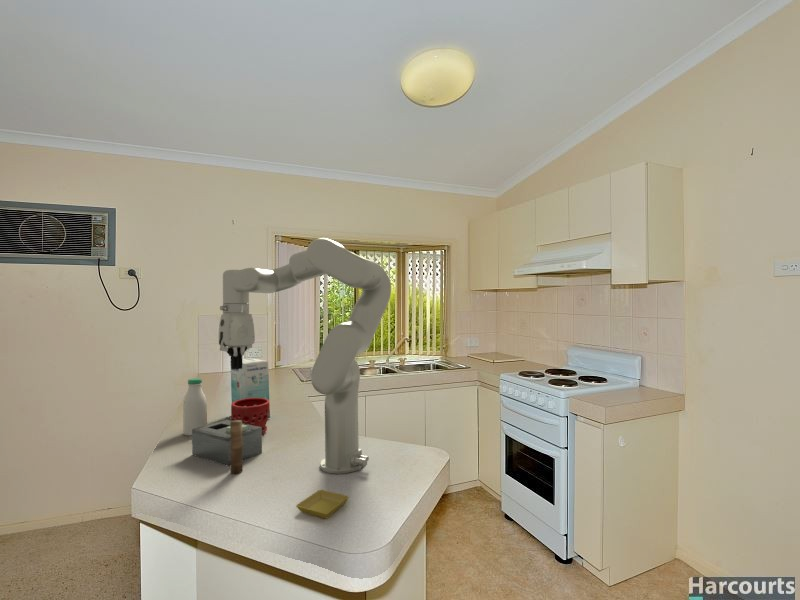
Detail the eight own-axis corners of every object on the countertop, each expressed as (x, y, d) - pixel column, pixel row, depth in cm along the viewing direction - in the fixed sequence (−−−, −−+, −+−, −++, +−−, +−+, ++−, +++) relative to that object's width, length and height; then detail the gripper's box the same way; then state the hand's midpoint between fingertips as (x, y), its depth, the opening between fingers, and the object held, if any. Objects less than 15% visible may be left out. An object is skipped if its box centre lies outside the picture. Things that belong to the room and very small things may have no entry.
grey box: (261, 452, 124) (261, 427, 124) (227, 466, 114) (227, 438, 114) (226, 443, 133) (226, 419, 133) (192, 454, 123) (192, 429, 123)
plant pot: (223, 439, 138) (223, 404, 138) (246, 428, 151) (246, 396, 151) (255, 441, 135) (255, 406, 135) (276, 429, 147) (276, 398, 148)
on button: (247, 441, 122) (247, 425, 122) (235, 446, 118) (235, 429, 118) (238, 439, 124) (238, 423, 124) (226, 443, 120) (226, 427, 120)
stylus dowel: (244, 471, 110) (244, 420, 110) (235, 475, 107) (234, 423, 108) (237, 468, 111) (237, 419, 112) (228, 472, 109) (228, 422, 109)
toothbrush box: (230, 415, 169) (229, 359, 170) (254, 411, 176) (253, 357, 177) (245, 424, 156) (244, 363, 156) (270, 418, 163) (269, 360, 163)
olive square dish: (326, 523, 82) (326, 513, 83) (295, 514, 86) (295, 505, 86) (349, 505, 90) (349, 496, 90) (320, 497, 94) (320, 489, 94)
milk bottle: (205, 434, 143) (205, 379, 144) (181, 437, 140) (181, 381, 141) (207, 428, 150) (207, 376, 151) (184, 431, 148) (184, 378, 148)
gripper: (221, 309, 114) (222, 373, 113) (263, 309, 126) (264, 366, 126) (206, 310, 117) (206, 371, 117) (248, 309, 130) (249, 364, 130)
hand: (236, 368), depth 121 cm, fingers closed
